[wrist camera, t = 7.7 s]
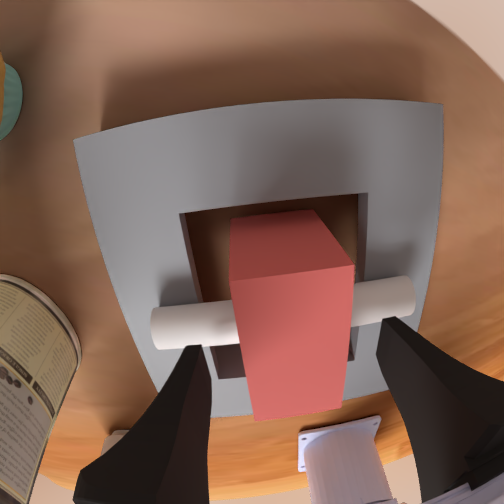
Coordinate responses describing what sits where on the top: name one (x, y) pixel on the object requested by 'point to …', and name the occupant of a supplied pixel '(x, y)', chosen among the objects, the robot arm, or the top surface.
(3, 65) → the cupcake
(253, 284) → the red arch block
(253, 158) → the grey frame with dowel
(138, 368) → the top surface
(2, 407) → the coffee can
